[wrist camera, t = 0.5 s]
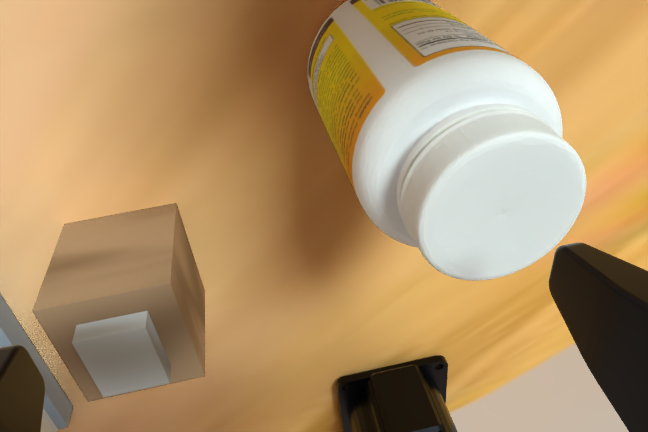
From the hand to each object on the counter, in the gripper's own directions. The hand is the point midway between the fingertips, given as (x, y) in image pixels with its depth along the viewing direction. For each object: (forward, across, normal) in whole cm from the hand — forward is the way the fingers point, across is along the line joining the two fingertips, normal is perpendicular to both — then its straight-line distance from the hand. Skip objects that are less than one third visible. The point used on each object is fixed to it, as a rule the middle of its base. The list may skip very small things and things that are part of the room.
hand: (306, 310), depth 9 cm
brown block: (+13, +6, +8) cm, 16 cm away
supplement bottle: (+13, -5, 0) cm, 14 cm away
